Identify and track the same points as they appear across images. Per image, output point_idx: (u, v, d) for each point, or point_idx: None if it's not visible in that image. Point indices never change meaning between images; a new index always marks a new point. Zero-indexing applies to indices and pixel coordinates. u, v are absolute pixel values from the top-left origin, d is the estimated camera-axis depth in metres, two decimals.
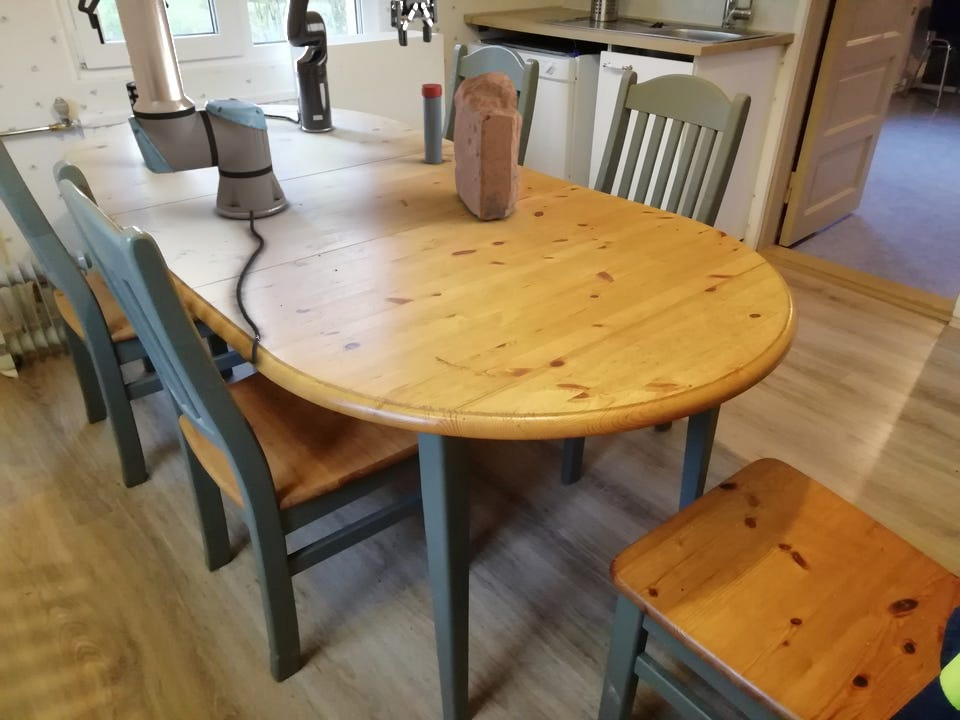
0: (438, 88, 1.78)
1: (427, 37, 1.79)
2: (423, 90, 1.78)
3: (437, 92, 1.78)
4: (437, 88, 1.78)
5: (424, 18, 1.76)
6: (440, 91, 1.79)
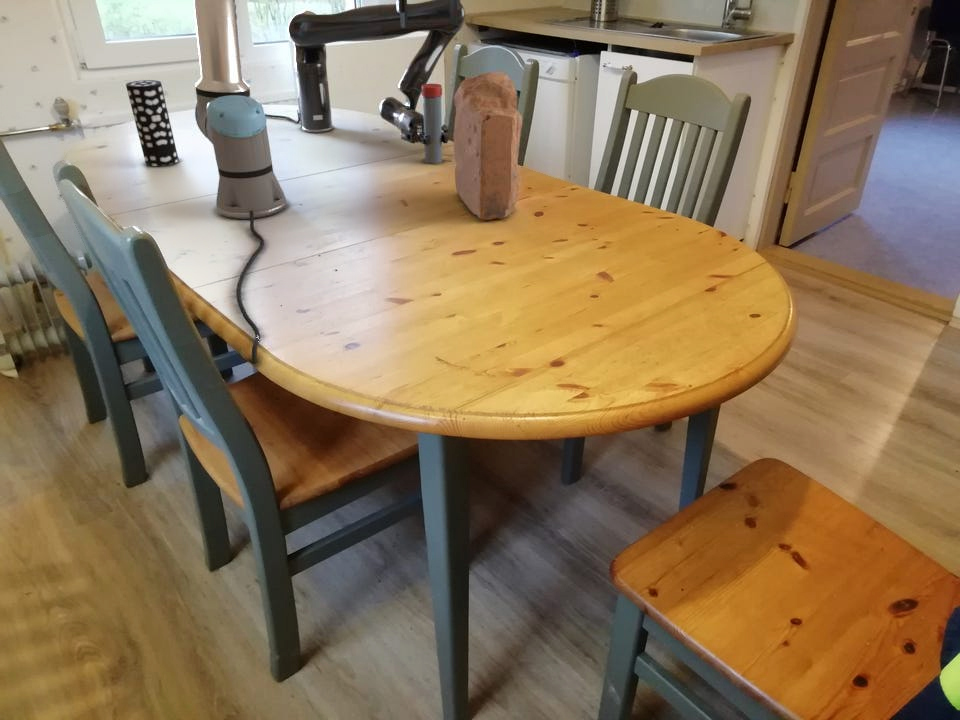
0: (438, 88, 1.78)
1: None
2: (423, 90, 1.78)
3: (437, 92, 1.78)
4: (437, 88, 1.78)
5: None
6: (440, 91, 1.79)
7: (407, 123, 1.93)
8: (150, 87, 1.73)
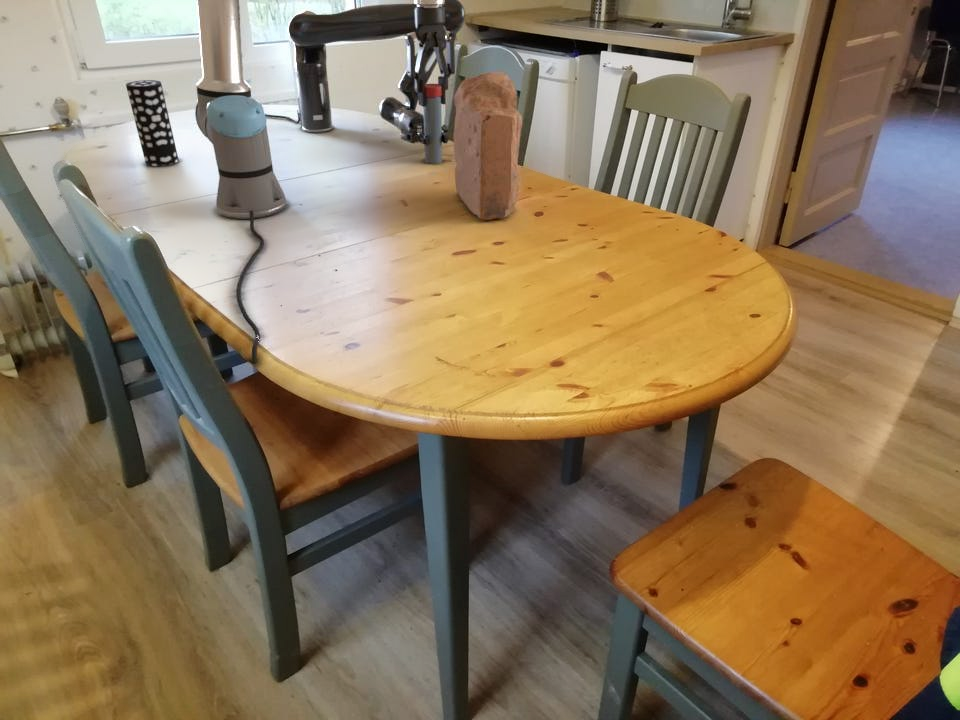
0: (438, 88, 1.78)
1: None
2: None
3: (437, 92, 1.78)
4: (437, 88, 1.78)
5: None
6: (440, 91, 1.79)
7: (407, 123, 1.93)
8: (150, 87, 1.73)
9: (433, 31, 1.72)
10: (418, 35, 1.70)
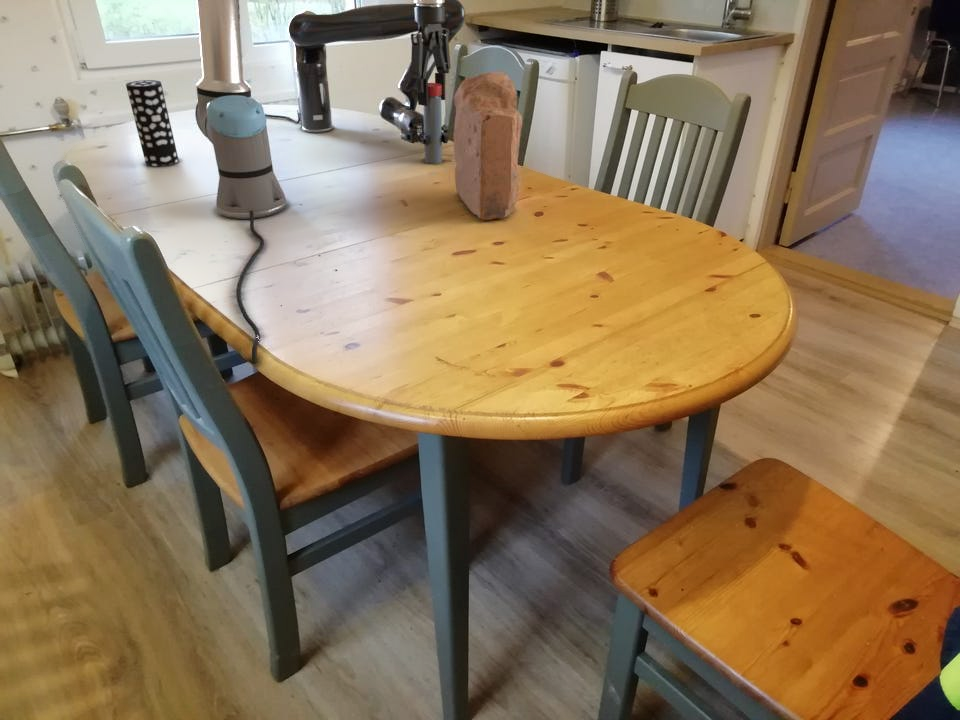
0: None
1: None
2: (435, 90, 1.78)
3: None
4: None
5: None
6: None
7: (407, 123, 1.93)
8: (150, 87, 1.73)
9: (434, 30, 1.72)
10: (424, 35, 1.69)
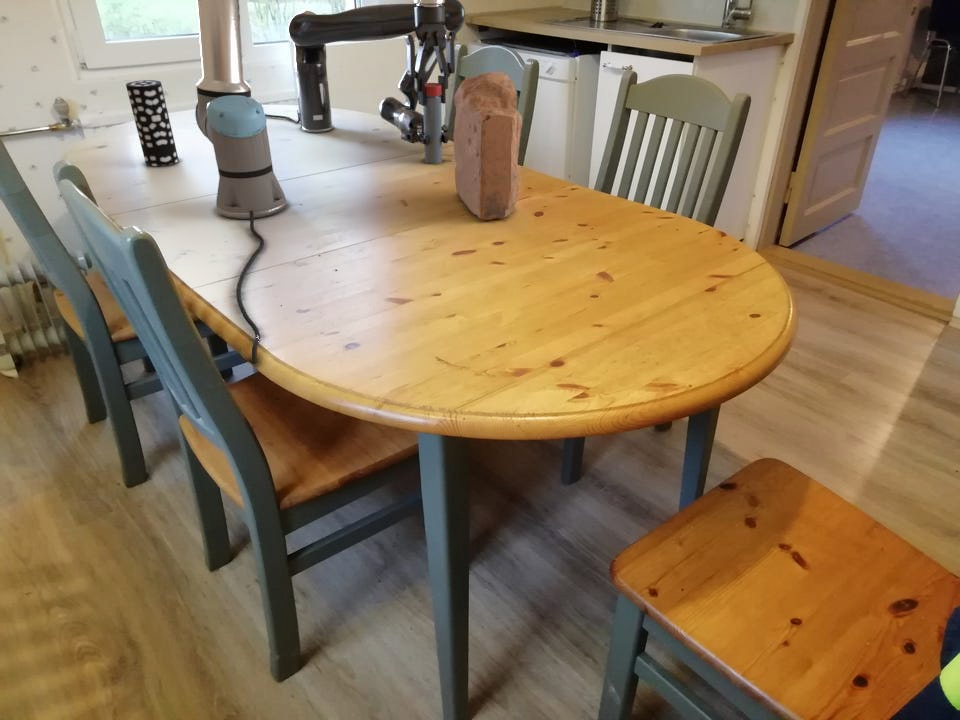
0: None
1: None
2: (435, 90, 1.78)
3: None
4: None
5: None
6: None
7: (407, 123, 1.93)
8: (150, 87, 1.73)
9: (433, 30, 1.71)
10: (418, 34, 1.70)
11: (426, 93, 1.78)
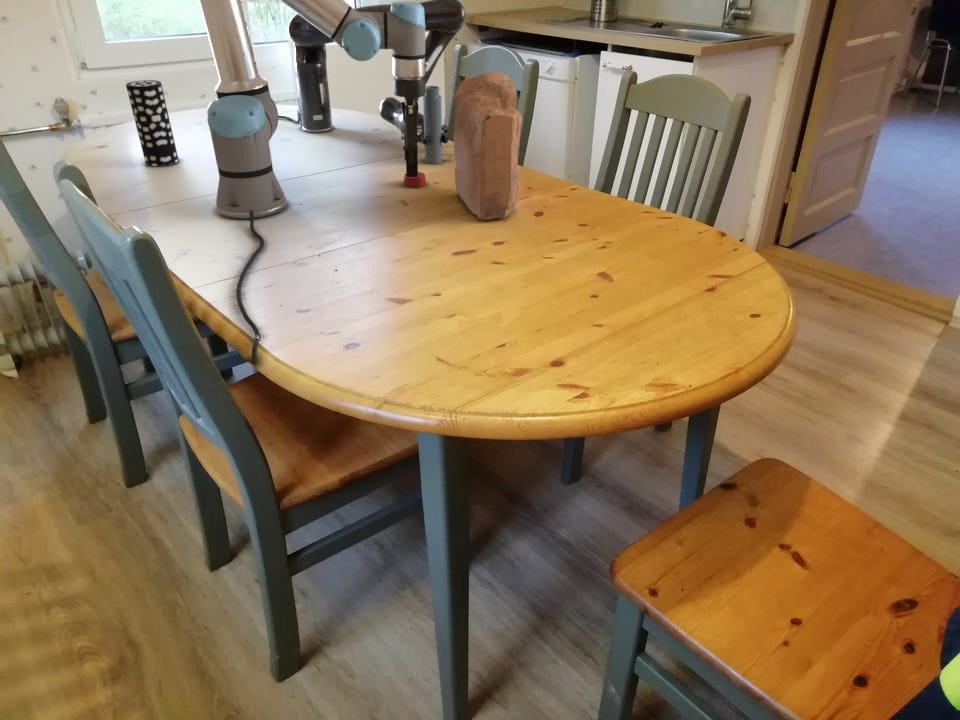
0: None
1: None
2: None
3: None
4: None
5: None
6: None
7: None
8: (150, 87, 1.73)
9: None
10: None
11: (420, 184, 1.71)
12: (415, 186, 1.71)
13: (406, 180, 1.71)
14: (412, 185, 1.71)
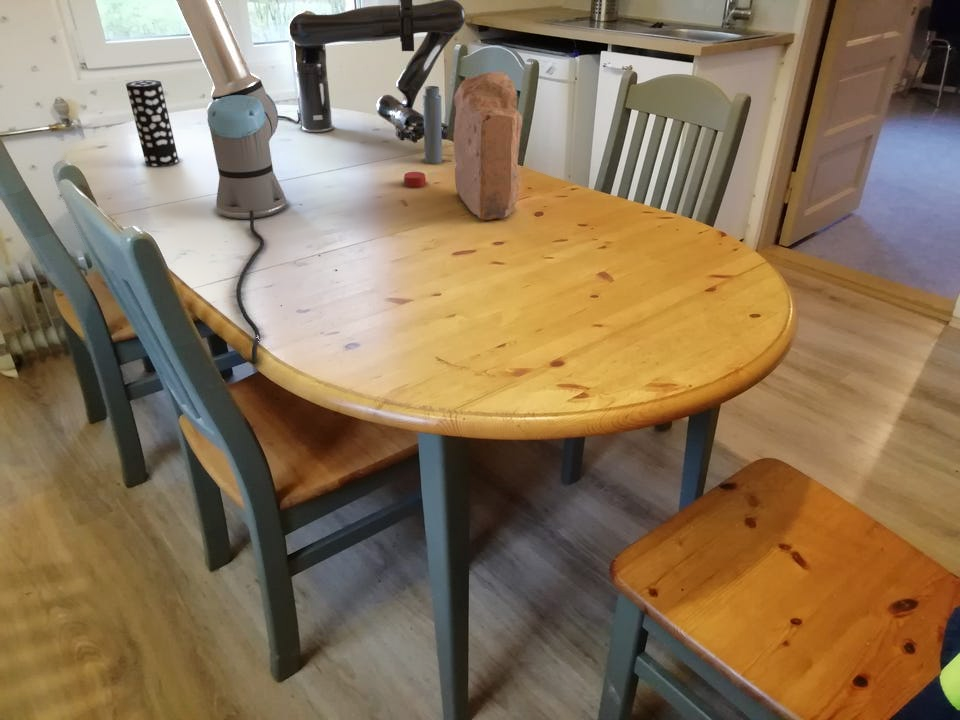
0: None
1: None
2: None
3: None
4: None
5: None
6: None
7: (403, 121, 1.95)
8: (150, 87, 1.73)
9: None
10: None
11: (420, 184, 1.71)
12: (415, 186, 1.71)
13: (406, 180, 1.71)
14: (412, 185, 1.71)
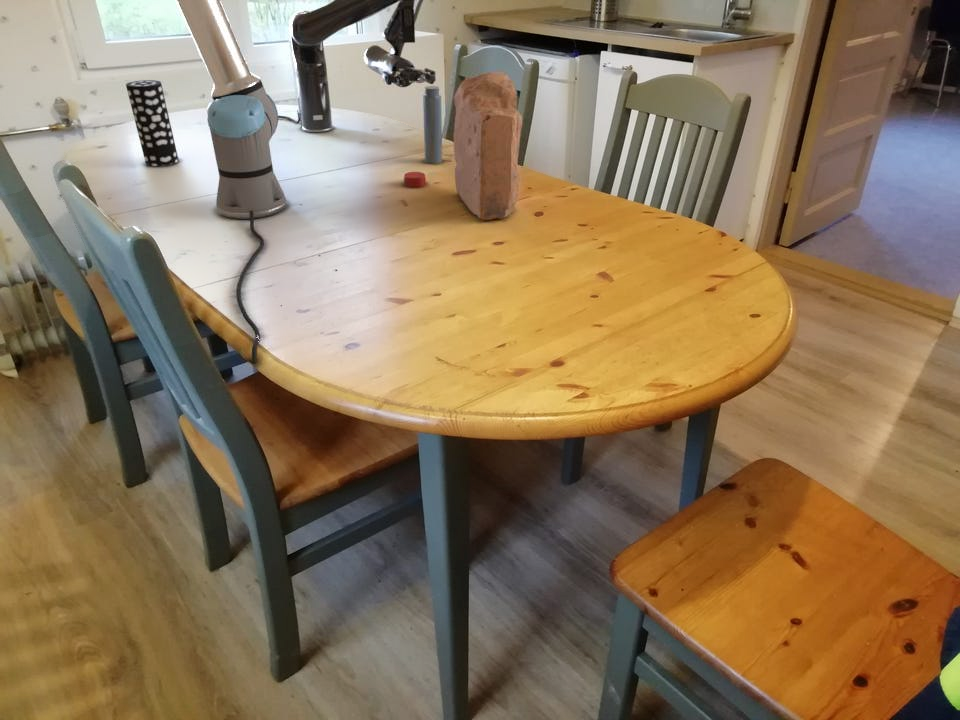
0: None
1: None
2: None
3: None
4: None
5: None
6: None
7: (390, 67, 1.96)
8: (150, 87, 1.73)
9: None
10: None
11: (420, 184, 1.71)
12: (415, 186, 1.71)
13: (406, 180, 1.71)
14: (412, 185, 1.71)
